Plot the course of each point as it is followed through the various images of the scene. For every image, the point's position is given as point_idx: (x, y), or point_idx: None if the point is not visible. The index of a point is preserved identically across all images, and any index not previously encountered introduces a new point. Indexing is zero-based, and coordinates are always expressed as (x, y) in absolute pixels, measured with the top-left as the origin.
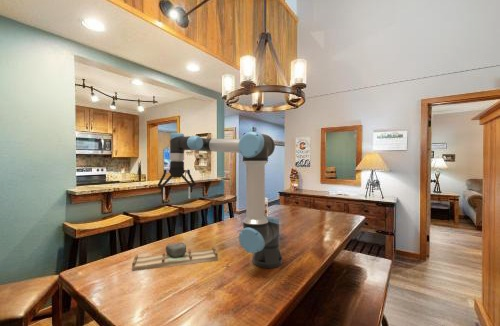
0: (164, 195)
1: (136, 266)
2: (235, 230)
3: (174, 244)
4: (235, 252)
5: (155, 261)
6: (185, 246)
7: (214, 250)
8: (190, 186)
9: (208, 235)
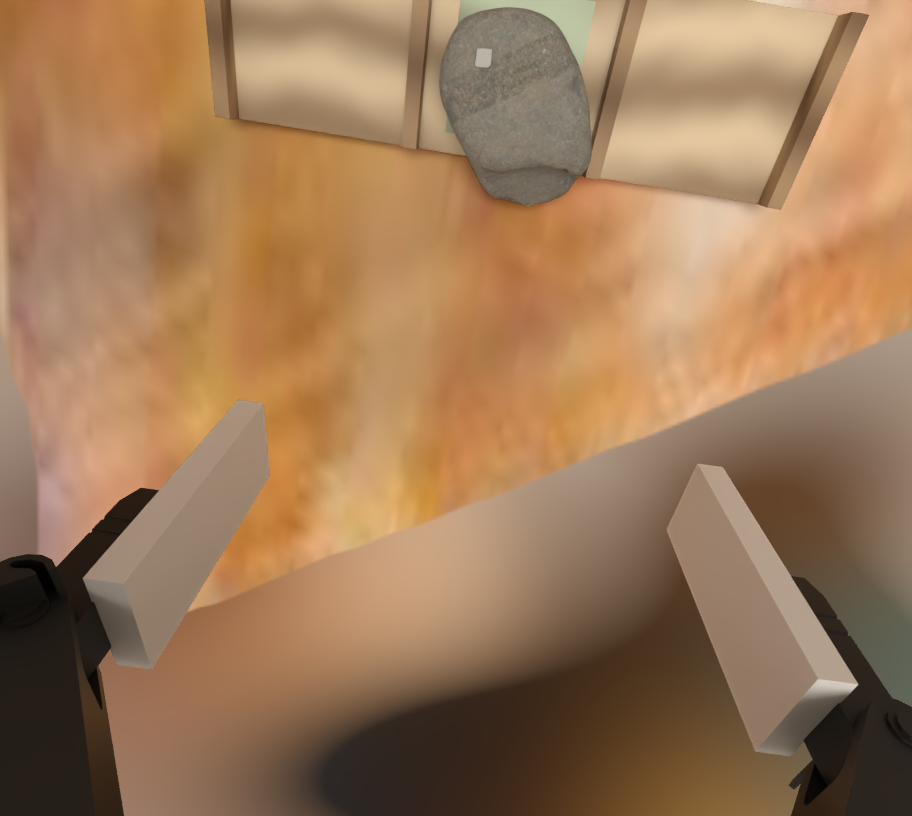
0: (731, 519)
1: (824, 13)
2: (68, 471)
3: (535, 100)
4: (71, 38)
5: (678, 52)
6: (449, 41)
7: (217, 7)
8: (63, 598)
9: None
